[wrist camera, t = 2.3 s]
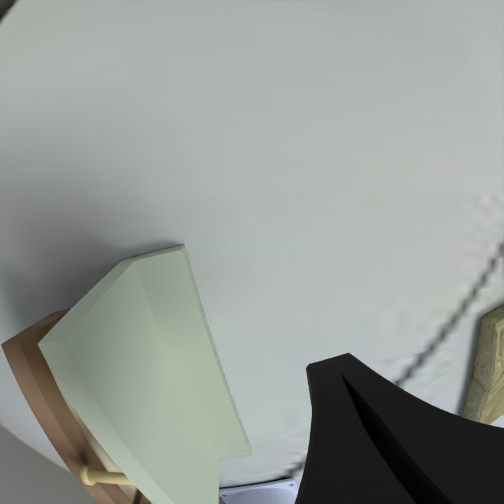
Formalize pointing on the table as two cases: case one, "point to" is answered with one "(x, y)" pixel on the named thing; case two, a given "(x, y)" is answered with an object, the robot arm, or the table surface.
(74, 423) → the picture frame
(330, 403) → the robot arm
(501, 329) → the decorative tile
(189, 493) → the curved green slab
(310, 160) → the table surface
